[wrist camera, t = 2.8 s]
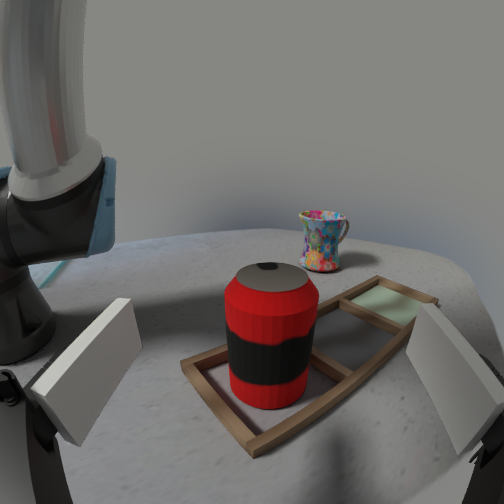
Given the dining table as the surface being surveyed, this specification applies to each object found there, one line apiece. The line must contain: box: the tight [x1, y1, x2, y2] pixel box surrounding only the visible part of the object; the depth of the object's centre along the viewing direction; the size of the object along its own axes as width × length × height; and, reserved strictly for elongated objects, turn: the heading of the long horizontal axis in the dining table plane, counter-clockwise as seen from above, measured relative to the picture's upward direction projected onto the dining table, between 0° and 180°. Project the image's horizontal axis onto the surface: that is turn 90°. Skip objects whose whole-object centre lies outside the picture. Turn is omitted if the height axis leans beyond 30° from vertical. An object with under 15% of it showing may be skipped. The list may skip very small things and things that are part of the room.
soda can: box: [224, 262, 319, 409], centre depth 24 cm, size 8×8×12 cm
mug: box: [299, 211, 349, 272], centre depth 54 cm, size 12×9×11 cm
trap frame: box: [180, 275, 439, 459], centre depth 32 cm, size 13×37×2 cm, turn 125°
